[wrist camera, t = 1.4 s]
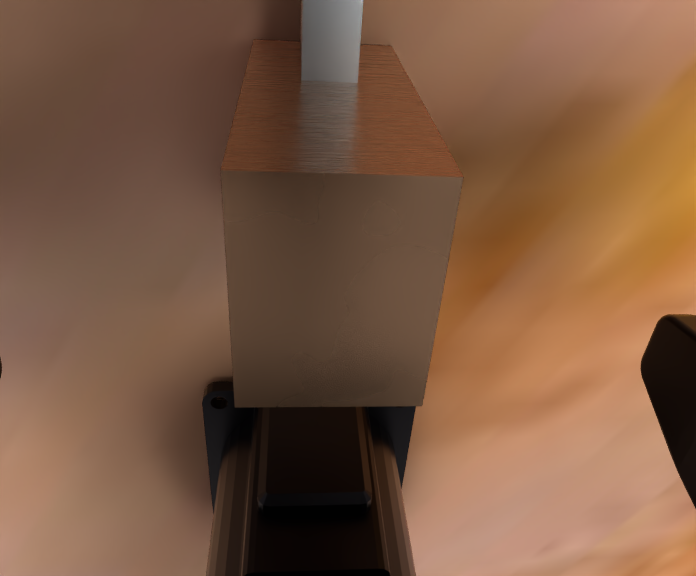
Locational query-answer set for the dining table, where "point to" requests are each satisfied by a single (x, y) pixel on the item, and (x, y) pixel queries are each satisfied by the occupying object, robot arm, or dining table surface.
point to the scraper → (334, 221)
